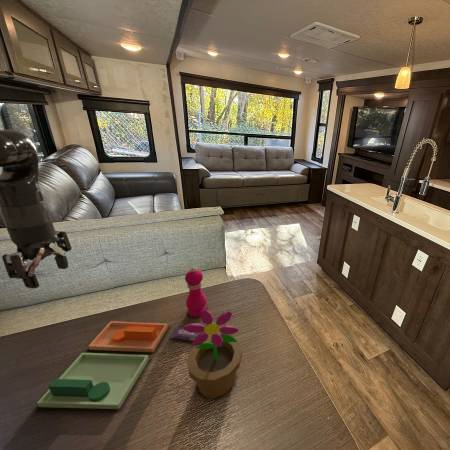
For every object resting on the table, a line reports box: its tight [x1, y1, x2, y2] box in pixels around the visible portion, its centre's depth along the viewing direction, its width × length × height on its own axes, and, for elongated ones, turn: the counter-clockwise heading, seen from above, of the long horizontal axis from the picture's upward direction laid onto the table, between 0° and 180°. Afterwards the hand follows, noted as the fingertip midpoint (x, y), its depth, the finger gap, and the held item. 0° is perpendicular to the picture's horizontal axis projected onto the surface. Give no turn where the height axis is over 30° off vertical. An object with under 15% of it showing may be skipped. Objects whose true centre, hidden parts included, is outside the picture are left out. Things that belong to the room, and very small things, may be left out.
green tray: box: [36, 352, 150, 410], centre depth 68 cm, size 19×14×2 cm
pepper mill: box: [184, 266, 207, 318], centre depth 92 cm, size 7×7×20 cm
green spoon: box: [48, 378, 110, 402], centre depth 64 cm, size 13×4×4 cm, turn 92°
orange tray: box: [87, 320, 169, 353], centre depth 81 cm, size 19×10×2 cm, turn 92°
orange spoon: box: [112, 326, 157, 342], centre depth 81 cm, size 13×4×4 cm, turn 92°
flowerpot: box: [183, 308, 243, 399], centre depth 66 cm, size 14×14×30 cm
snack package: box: [170, 326, 205, 342], centre depth 84 cm, size 12×2×5 cm
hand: (49, 277), depth 64 cm, fingers open, 8 cm apart
